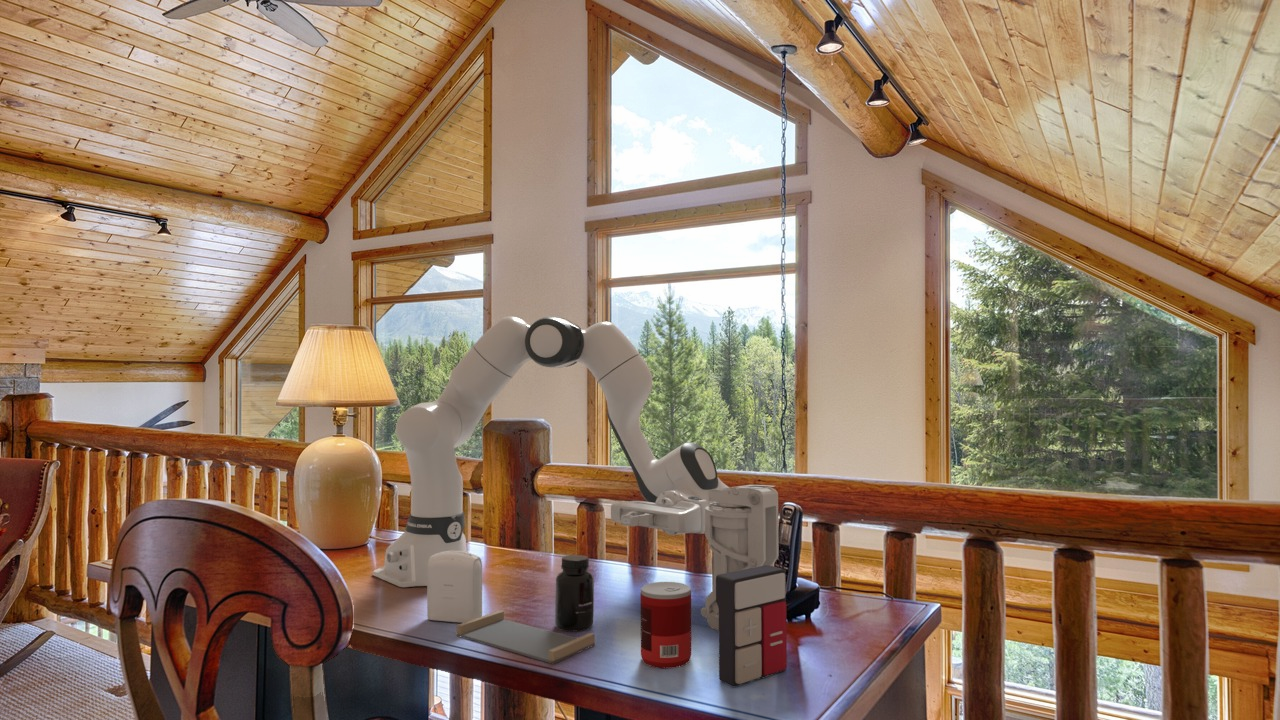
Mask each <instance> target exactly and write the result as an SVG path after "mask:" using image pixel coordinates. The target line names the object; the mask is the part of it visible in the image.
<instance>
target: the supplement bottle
mask: <svg viewBox="0 0 1280 720" xmlns="http://www.w3.org/2000/svg"><path fill="white" fill-rule="evenodd" d="M589 562H590V560H589V557H588V556H586V555H582V554H580V555H579V554H571V555H564V556H563V557H561V565H560V568H561V570H562V571H560V572H559V573H558V574H557V575H556V577H555V590H554V591H555V593H554V594H555V596H554V597H555V600H554V601H555V602H554V603H555V606H554V610H555V611H554V616H555V617H554V621H555V622H554V624H555V626H556V628H557V629H559V630H561V631H566V632H581V630H582V631H586V630H589V629H590V628H592V626H593V625H594V610H595V608H594V607H595V606H594V605H595V604H594V601H595V578H594V576H593V574H592V572H590V571H588V570H589V568H590V564H589Z"/></svg>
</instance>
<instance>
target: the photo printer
mask: <svg viewBox="0 0 1280 720" xmlns="http://www.w3.org/2000/svg"><path fill="white" fill-rule="evenodd" d="M426 587H427V588H426V597H427V599H426V600H427V602H426V604H427V606H426V610H427V615H426V616H427V619H428V620H429V621H439V622H452V623H460V624H461V623H464V622H467V621H470V620H473V619H476V618H479V617H482V616H483V562H482V559H481V557H479V556H478V555H476V554H474V553H471V552H468V551H467V552H463V551H444V552H440V553H437V554H434V555H432V556H431V557H430V559H429V561H428V566H427V586H426Z"/></svg>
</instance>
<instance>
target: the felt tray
mask: <svg viewBox="0 0 1280 720" xmlns="http://www.w3.org/2000/svg"><path fill="white" fill-rule="evenodd" d="M456 636H457V637H460V636H461V637H460V638H463V639H466V638H467V640H470V639H471V640H470V641H473V640H474V642H478V643H480V644H483V643H484V644H483V645H487V646H491V647H494V648H498V649H502V650H505V651H509V652H512V653H515V654H518V655H520V656H526V657H527V658H528V657H529V658H532V659H535V660H539V661H542V662H545V663H549V664H553V665H554V664H557V663H559V662H561V661H563V660H566V659H567V658H569V657H572V656H575V655H576V654H579V653H580V651H581V652H583V651H585V650H587V649H589V648H591V646H592V647H593V645H594V646H596V645H595V641H596V639H595V637H596V636H595V633H593V632H588V633H586V634H584V635H581V636H580V637H574V636H571V635H568V634H563V633H558V632H555V631H550V630H547V629H544V628H539V627H535V626H531V625H528V624H524V623H520V622H517V621H513V620H508V619H505V611H504V610H501V609H499V610H497V611H494V612H491V613H489V614H485V615H482V617H479V618H476V619H473V620H470V621H467V622H464V623H461V622H460V623H459V624H456ZM588 647H589V648H588ZM586 648H587V649H586ZM582 650H583V651H582Z"/></svg>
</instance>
